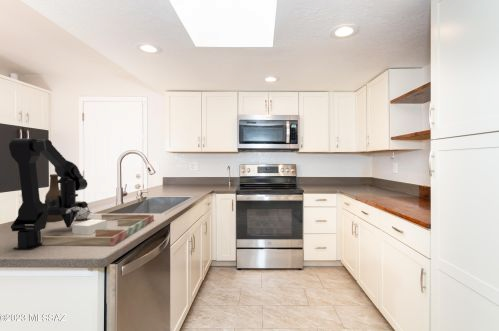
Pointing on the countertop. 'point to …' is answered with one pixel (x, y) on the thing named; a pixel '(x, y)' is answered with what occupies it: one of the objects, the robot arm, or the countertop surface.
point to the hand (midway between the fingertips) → (68, 226)
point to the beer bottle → (53, 196)
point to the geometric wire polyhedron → (82, 213)
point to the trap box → (104, 232)
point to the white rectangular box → (89, 226)
